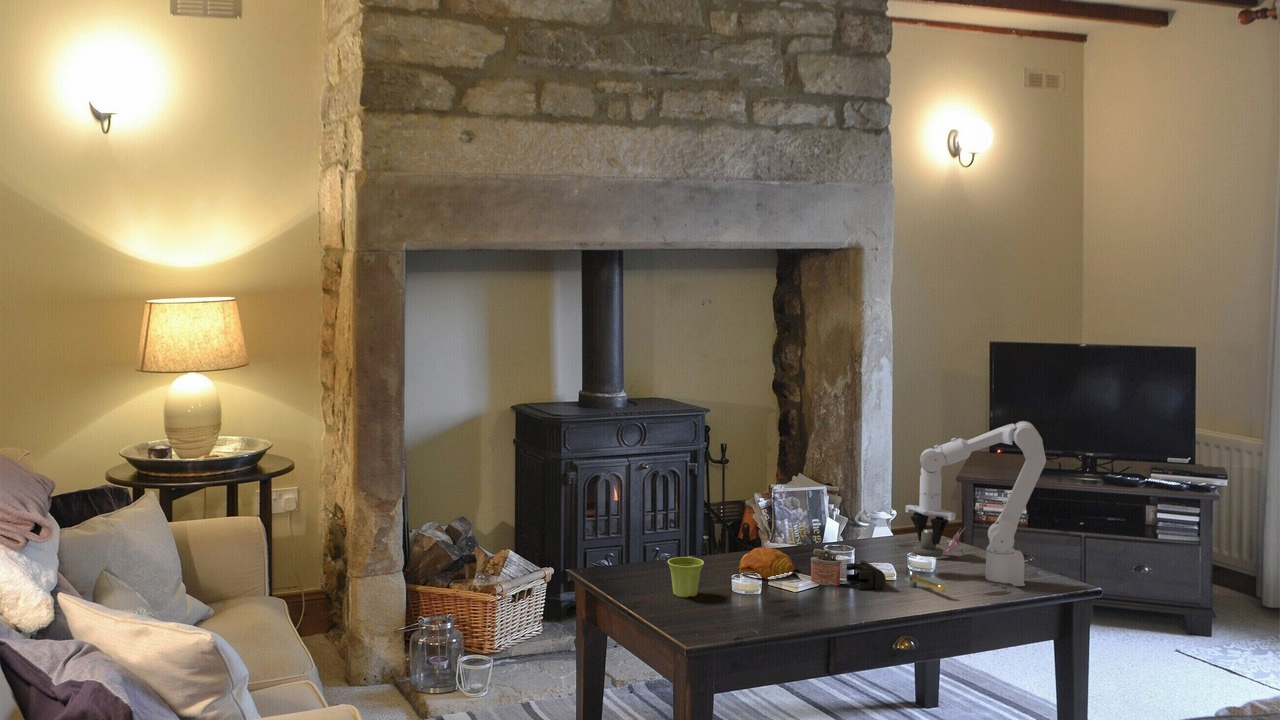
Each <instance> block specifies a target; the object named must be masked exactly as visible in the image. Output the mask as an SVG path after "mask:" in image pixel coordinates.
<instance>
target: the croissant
mask: <svg viewBox="0 0 1280 720" xmlns="http://www.w3.org/2000/svg"><path fill="white" fill-rule="evenodd" d="M738 569H739V570H738V572H739V574H740V573H744V572H750V573H757V574H760V575H761V577H762V578H765V579H764V580H767V579H766V578H768V577H770V576H776V575H780V574H784V573H789V572H793V573H794V572H795V565H794V563H793V560H792V559H791V557H790V556H789V555H788V554H786V553H783V551H780V550H779V549H776V548H770V547H769V548H767V547H755V548H753V549H752V550H750V551H748V553H745V554H744V555H743V556H742V558H741V560H740V562H739V566H738Z"/></svg>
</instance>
